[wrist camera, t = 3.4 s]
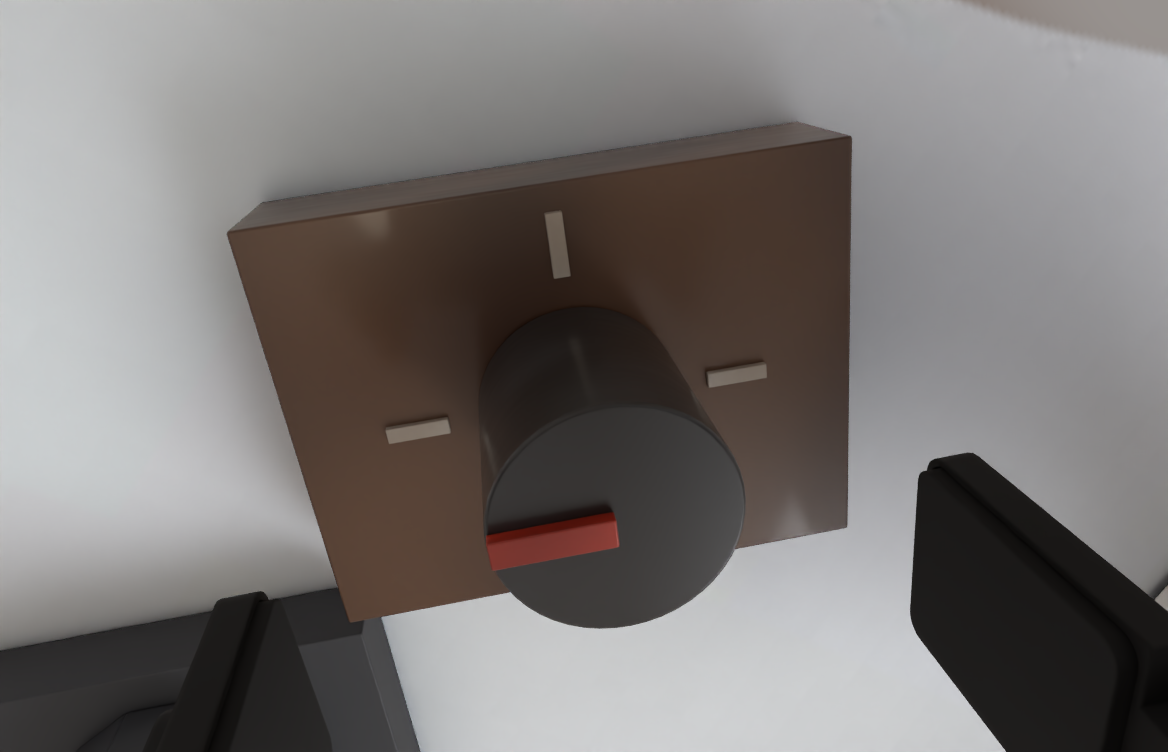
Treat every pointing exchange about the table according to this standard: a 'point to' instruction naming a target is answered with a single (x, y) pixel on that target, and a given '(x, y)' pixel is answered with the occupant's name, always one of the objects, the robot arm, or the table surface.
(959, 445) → the table surface
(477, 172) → the dial panel
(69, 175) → the table surface
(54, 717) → the switch base
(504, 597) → the table surface
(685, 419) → the dial
